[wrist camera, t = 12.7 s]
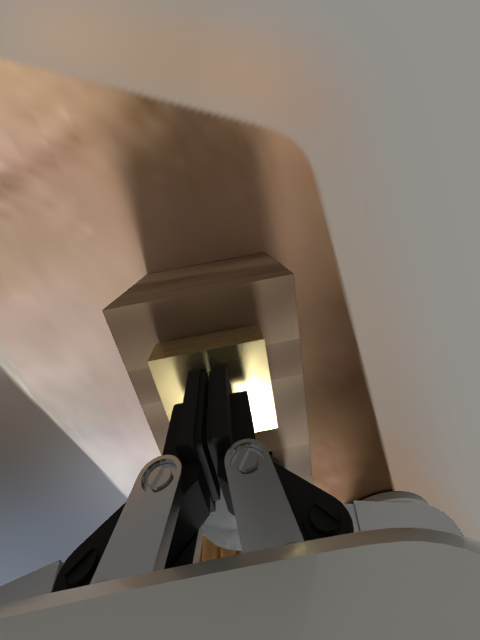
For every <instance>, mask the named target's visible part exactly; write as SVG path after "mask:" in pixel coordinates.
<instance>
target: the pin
mask: <svg viewBox="0 0 480 640" xmlns="http://www.w3.org/2000/svg"><path fill="white" fill-rule="evenodd" d="M269 455H270V457H271V460H272V461H274V462H275V463H277V464H279V465H280V466H282V467H284V466H283V464H282V463H281V462H280V461H279V460H278V459H277V458H276V457H274V456H273V455H271V454H269ZM220 493H221V496H220V500H217V501H216V512H211V513H210V515H209V517H208V518H207V519H206V521H205V522H204V523H203V524H204V535H205V536H206V537H207V539H208V540H209V541H211V542H212V543H213V544H215V545H217V546H219V547H222V548H225V549H229V550H238V551H242V548H241V543H240V538H239V534H238V529H237V524H236V519H235V516H233V515H232V514H231V513H230V512H229V511H228V508H227V505H226V502H225V499H224V497H223V494H222V490H221V487H220Z"/></svg>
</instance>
